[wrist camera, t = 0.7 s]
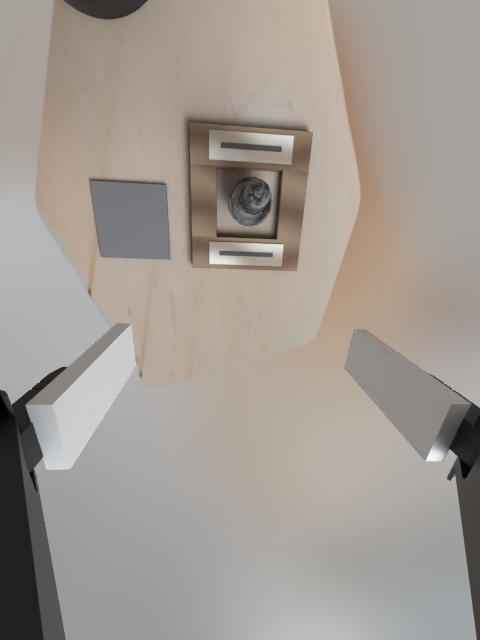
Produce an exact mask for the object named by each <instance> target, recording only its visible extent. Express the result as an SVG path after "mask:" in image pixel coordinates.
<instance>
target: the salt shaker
mask: <svg viewBox="0 0 480 640" xmlns="http://www.w3.org/2000/svg"><path fill="white" fill-rule="evenodd" d="M228 206H229V211H230V213H231V215H232V217H233V218H234V219H235V220H236V221H237V222H238V223H240V224H242V225H245V226H255V225H258V224H260V223H262V222H263V221H264V220H265V219H266V218H267V217H268V215H269V214H270V211H271V208H272V194H271V192H270V188H269V186H268V184H267V183H266V182H265V181H263V180H261V179H258V178H255V177H246V178H243V179H241V180H239V181H237V182H236V183H235V184H234V185H233V187H232V189H231V191H230V193H229V197H228Z"/></svg>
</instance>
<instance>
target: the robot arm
mask: <svg viewBox="0 0 480 640" xmlns="http://www.w3.org/2000/svg"><path fill="white" fill-rule="evenodd" d="M64 1H65V2H67V3H68V4H69V5H71V6H72V7H74V8H75V9H77V10H79V11H80V12H82V13H85V14H87V15H90V16H93V17H96V18H102V19H115V18H121V17H124V16H127V15H129V14H131V13H133V12H135V11H136V10H137V9H139V8H140V7H141V6H142V5H143V4H144V3H145V2H146V1H147V0H64ZM135 367H136V362H135V353H134V345H133V336H132V328H131V324H120V323H117V324H116V325H115V326H114V327H112V328H111V329H110V330H109V331H108V332H107V333H106V334H105V335H103V336H102V337H101V338H100V339H99V340H98V341H97V342H95V343H94V344H93V345H92V346H91V347H90V348H89V349H88V350H87V351H85V352H84V353H83V354H82V355H81V356H80V357H79V358H77V359H76V360H75V361H74V362H73V363H72V364H71V365H70V366H69V367H61V368H59V369H57V370H55V371H54V372H52V373H50V374H49V375H47V376H46V377H45V378H44V379H42V380H41V381H40V383H38V384H36V385H35V386H34V387H33V388H32V390H29V391H28V392H27V393H25V395H23V396H22V397H21V398H20V399H18V400H17V401H16V402H15V403H13V404H12V405H11V403H10V400H9V397H8V395H7V393H6V392H5V391H1V390H0V640H65V633H64V628H63V622H62V617H61V612H60V605H59V600H58V594H57V589H56V583H55V578H54V572H53V566H52V562H51V555H50V550H49V544H48V538H47V533H46V528H45V522H44V517H43V511H42V505H41V500H40V494H39V488H38V483H37V477H36V473H35V471H34V467H35V466H36V465H37V464H38V462H39V461H40V460H41V459H42V457H43V460H44V463H45V466H46V469H47V470H64V469H71V467H72V466H73V464H74V463H75V461H76V459H77V458H78V456H79V455H80V453H81V452H82V450H83V448H84V447H85V445H86V444H87V442H88V441H89V439H90V437H91V436H92V434H93V433H94V431H95V430H96V428H97V427H98V425H99V423H100V422H101V420H102V419H103V417H104V415H105V414H106V412H107V411H108V409H109V408H110V406H111V404H112V403H113V401H114V400H115V398H116V397H117V395H118V393H119V392H120V390H121V389H122V387H123V386H124V384H125V382H126V381H127V379H128V378H129V376H130V374H131V373H132V372H133V370H134V368H135ZM345 369H346V371H347V372H348V373H349V374H350V375H351V376H352V378H353V379H354V380H355V381H356V382H357V383H358V384H359V386H360V387H361V388H362V389H363V390H364V391H365V392H366V394H367V395H368V396H369V397H370V398H371V399H372V401H373V402H374V403H375V404H376V405H377V406H378V407H379V409H380V410H381V411H382V412H383V413H384V414H385V415H386V417H387V418H388V419H389V420H390V421H391V422H392V424H393V425H394V426H395V427H396V428H397V429H398V430H399V432H400V433H401V434H402V435H403V436H404V437H405V438H406V440H407V441H408V442H409V443H410V444H411V445H412V447H413V448H414V449H415V450H416V451H417V452H418V453H419V455H420V456H421V457H422V458H423V459H424V460H425V461H444V459H445V457H446V455H447V453H448V451H449V449H451V450H452V451H453V452H454V453H455V454H456V455H457V456H458V457H457V459H456V461H455V463H454V465H453V467H452V469H451V470H450V473H449V474H448V477H447V479H448V480H451V479H452V477H454V476H456V483H457V490H458V497H459V505H460V513H461V520H462V527H463V536H464V543H465V551H466V558H467V565H468V574H469V581H470V589H471V597H472V605H473V613H474V620H475V628H476V636H477V640H480V408H479V407H478V406H476V405H475V404H473V403H472V402H470V401H469V400H467V399H466V398H465V397H463V396H462V395H460V394H459V393H457V392H456V391H454V390H452V388H450V387H449V386H447V385H446V384H444V383H443V382H442V381H440V380H439V379H437V378H436V377H434V376H432V375H431V374H429V373H427V372H425V371H424V370H422V369H421V368H420V367H418V366H417V365H415V364H414V363H412V362H411V361H410V360H408V359H407V358H405V357H404V356H403V355H401V354H400V353H398V352H397V351H396V350H394V349H393V348H391V347H390V346H389V345H387V344H386V343H384V342H383V341H381V340H380V339H379V338H377V337H376V336H374V335H373V334H371V333H370V332H369V331H367V330H364V329H361V330H360V329H354V331H353V335H352V339H351V343H350V347H349V352H348V356H347V360H346V364H345Z"/></svg>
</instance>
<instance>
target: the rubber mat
mask: <svg viewBox="0 0 480 640" xmlns="http://www.w3.org/2000/svg"><path fill="white" fill-rule="evenodd" d="M90 185H91V191H92V198H93V205H94V212H95V218H96V225H97V232H98V239H99V245H100V252H101V257H113V258H142V259H170V242H169V224H168V206H167V187H166V185H159V184H142V183H124V182H107V181H90Z"/></svg>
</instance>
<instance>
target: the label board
mask: <svg viewBox="0 0 480 640" xmlns="http://www.w3.org/2000/svg"><path fill="white" fill-rule="evenodd" d="M189 136H190V176H191V216H192V257H193V268H221V269H251V270H282V271H297V263H298V255H299V246H300V238H301V229H302V221H303V212H304V204H305V195H306V187H307V178H308V170H309V161H310V153H311V144H312V136H313V132H307V131H294V130H281V129H268V128H255V127H242V126H229V125H216V124H203V123H190V122H189ZM217 168H225V169H241V170H256V171H272V172H281V180H280V192H279V204H278V216H277V227H276V239H252V238H228V237H217Z"/></svg>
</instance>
